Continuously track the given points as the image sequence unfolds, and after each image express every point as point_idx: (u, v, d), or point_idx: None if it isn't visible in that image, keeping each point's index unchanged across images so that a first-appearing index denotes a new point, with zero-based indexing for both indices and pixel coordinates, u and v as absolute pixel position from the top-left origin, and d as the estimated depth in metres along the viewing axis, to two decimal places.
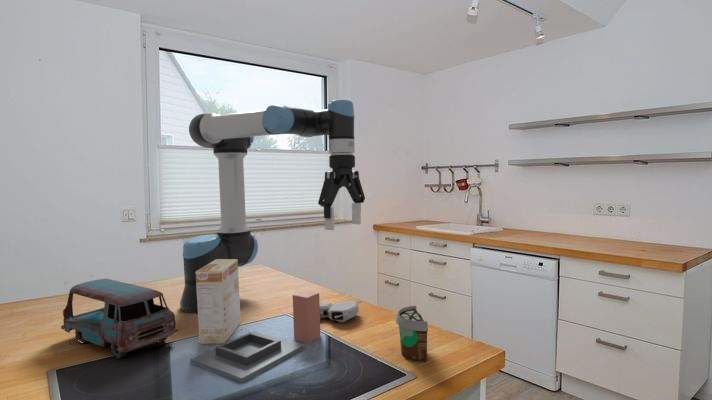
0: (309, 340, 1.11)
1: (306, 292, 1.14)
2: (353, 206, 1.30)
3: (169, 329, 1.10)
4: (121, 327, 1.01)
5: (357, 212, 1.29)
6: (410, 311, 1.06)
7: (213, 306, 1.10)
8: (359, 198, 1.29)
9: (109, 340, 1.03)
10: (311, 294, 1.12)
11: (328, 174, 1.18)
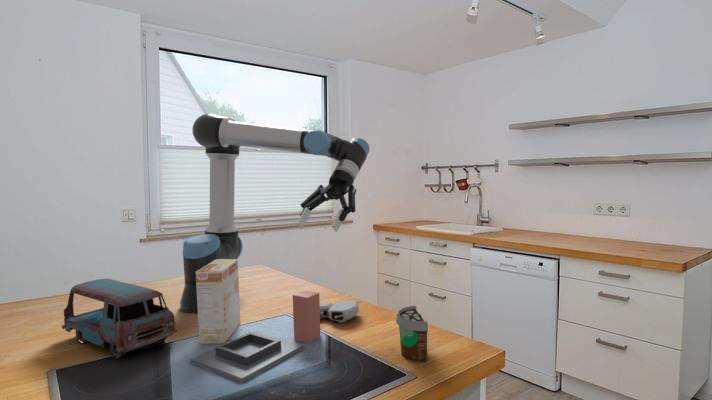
0: (309, 340, 1.11)
1: (306, 292, 1.14)
2: (306, 211, 1.34)
3: (168, 329, 1.10)
4: (120, 327, 1.01)
5: (306, 218, 1.34)
6: (410, 311, 1.06)
7: (213, 306, 1.10)
8: None
9: (108, 340, 1.03)
10: (311, 294, 1.12)
11: (354, 189, 1.33)
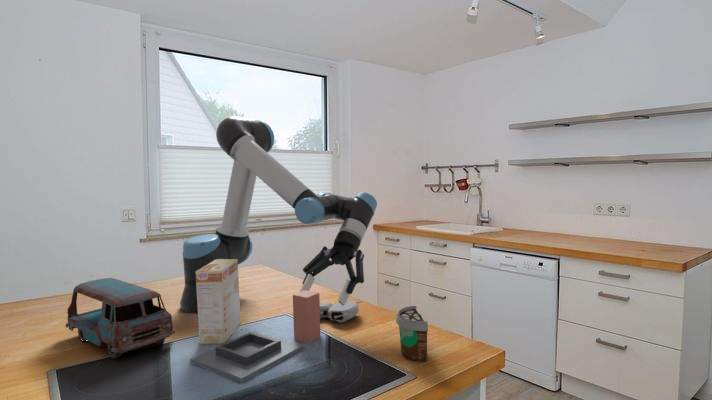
0: (309, 340, 1.11)
1: (306, 292, 1.14)
2: (310, 278, 1.23)
3: (166, 331, 1.09)
4: (115, 328, 1.00)
5: (309, 286, 1.22)
6: (410, 311, 1.06)
7: (213, 306, 1.10)
8: None
9: (105, 340, 1.03)
10: (311, 294, 1.12)
11: (362, 254, 1.21)
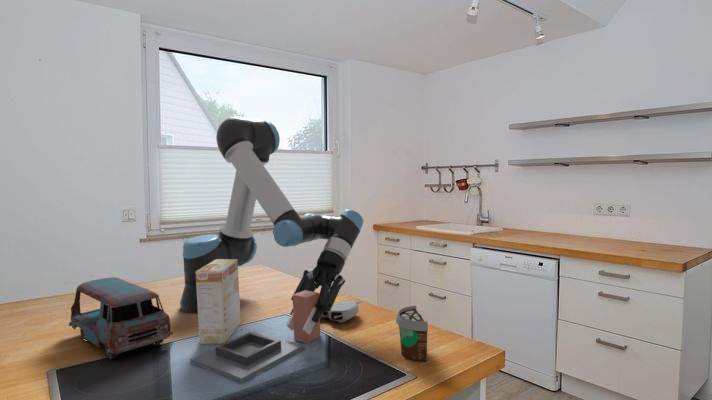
0: (309, 340, 1.11)
1: (306, 292, 1.14)
2: None
3: (163, 332, 1.08)
4: (111, 328, 1.00)
5: None
6: (410, 311, 1.06)
7: (213, 306, 1.10)
8: None
9: (102, 340, 1.03)
10: (311, 294, 1.12)
11: (342, 281, 1.16)
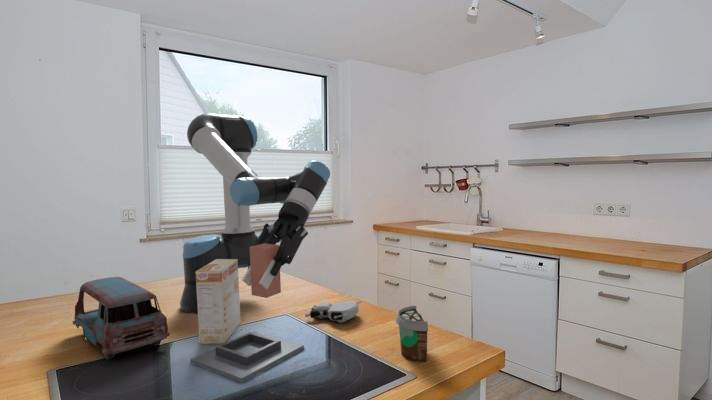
0: (267, 295, 1.02)
1: (265, 244, 1.05)
2: None
3: (160, 333, 1.08)
4: (106, 329, 1.00)
5: None
6: (410, 311, 1.06)
7: (213, 306, 1.10)
8: None
9: (99, 341, 1.03)
10: (270, 246, 1.03)
11: (304, 232, 1.06)
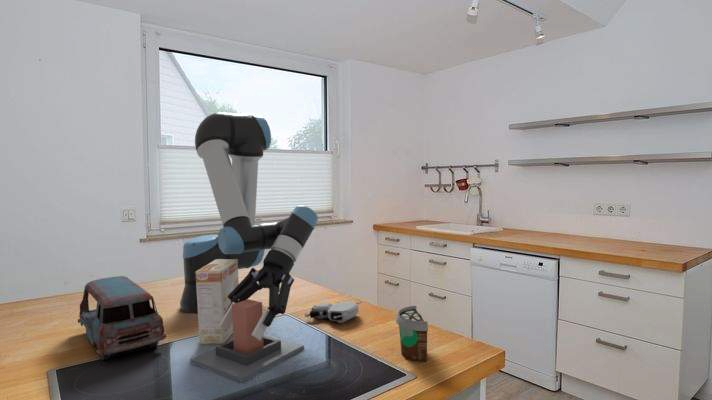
0: None
1: (248, 301, 1.04)
2: None
3: (156, 335, 1.07)
4: (101, 329, 1.00)
5: None
6: (410, 311, 1.06)
7: (213, 306, 1.10)
8: None
9: (95, 341, 1.03)
10: (252, 304, 1.02)
11: (291, 279, 1.05)
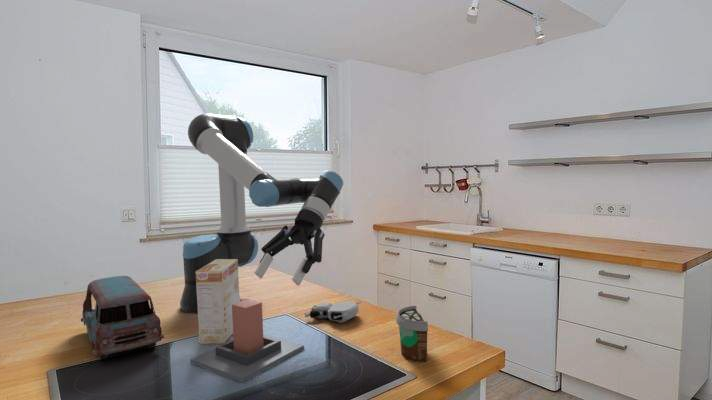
0: None
1: (248, 301, 1.04)
2: (267, 258, 1.17)
3: (153, 336, 1.06)
4: (97, 330, 0.99)
5: (267, 265, 1.17)
6: (410, 311, 1.06)
7: (213, 306, 1.10)
8: None
9: None
10: (252, 304, 1.02)
11: (322, 233, 1.15)
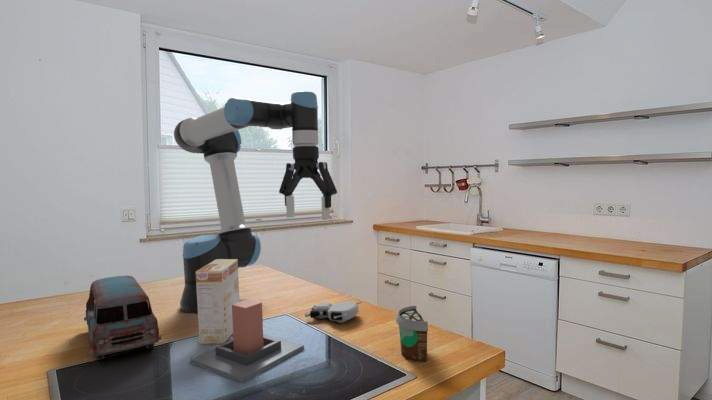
0: None
1: (248, 301, 1.04)
2: (289, 199, 1.28)
3: (150, 337, 1.05)
4: (94, 330, 0.99)
5: (292, 205, 1.29)
6: (410, 311, 1.06)
7: (213, 306, 1.10)
8: None
9: (90, 340, 1.03)
10: (252, 304, 1.02)
11: (324, 164, 1.20)
